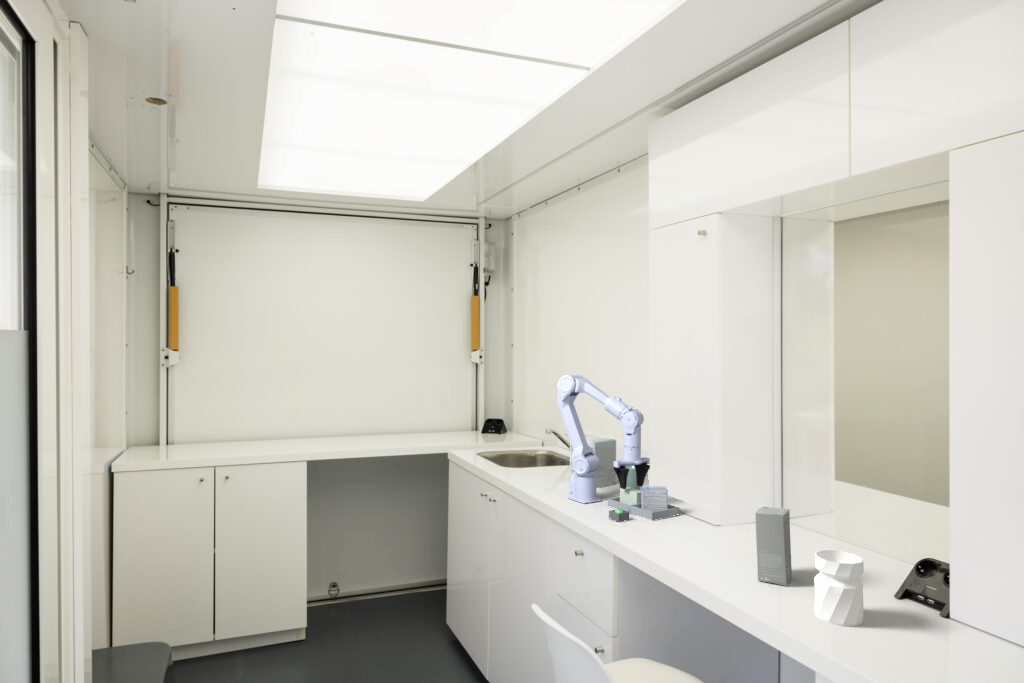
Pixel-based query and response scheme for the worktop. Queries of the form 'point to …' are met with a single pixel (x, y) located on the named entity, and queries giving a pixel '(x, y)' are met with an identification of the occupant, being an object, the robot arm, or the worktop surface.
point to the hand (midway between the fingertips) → (631, 487)
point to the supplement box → (601, 459)
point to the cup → (632, 478)
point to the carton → (630, 496)
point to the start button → (619, 510)
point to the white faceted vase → (838, 588)
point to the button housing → (619, 515)
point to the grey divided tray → (642, 512)
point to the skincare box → (773, 545)
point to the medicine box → (654, 498)
